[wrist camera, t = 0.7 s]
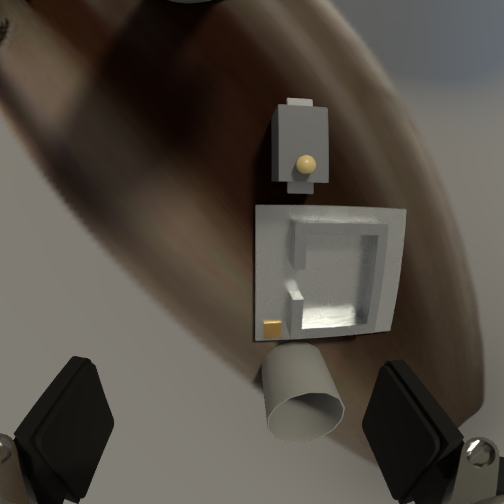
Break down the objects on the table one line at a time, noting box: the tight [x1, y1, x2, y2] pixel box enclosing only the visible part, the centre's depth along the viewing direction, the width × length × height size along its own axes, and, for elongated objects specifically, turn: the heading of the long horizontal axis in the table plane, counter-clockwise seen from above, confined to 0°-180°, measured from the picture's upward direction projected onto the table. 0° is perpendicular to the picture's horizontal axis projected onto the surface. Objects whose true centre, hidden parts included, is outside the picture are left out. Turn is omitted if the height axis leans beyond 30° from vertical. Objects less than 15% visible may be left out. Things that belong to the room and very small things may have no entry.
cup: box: [261, 341, 345, 442], centre depth 31 cm, size 8×8×10 cm
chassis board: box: [255, 204, 406, 341], centre depth 32 cm, size 16×18×3 cm
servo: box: [271, 98, 329, 194], centre depth 26 cm, size 9×4×7 cm, turn 0°
